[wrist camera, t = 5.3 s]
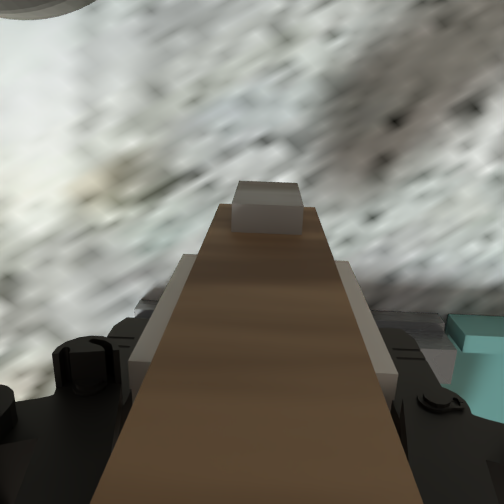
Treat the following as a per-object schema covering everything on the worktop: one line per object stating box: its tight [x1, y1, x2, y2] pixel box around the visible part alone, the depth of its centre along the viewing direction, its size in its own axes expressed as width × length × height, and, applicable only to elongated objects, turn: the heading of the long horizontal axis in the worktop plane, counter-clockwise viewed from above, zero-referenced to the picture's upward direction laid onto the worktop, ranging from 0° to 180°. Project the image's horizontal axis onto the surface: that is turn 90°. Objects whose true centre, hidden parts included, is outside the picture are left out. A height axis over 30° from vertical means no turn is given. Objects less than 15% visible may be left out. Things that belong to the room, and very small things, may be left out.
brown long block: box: [90, 181, 423, 504], centre depth 12 cm, size 6×4×17 cm, turn 178°
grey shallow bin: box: [134, 300, 457, 384], centre depth 27 cm, size 12×17×3 cm
